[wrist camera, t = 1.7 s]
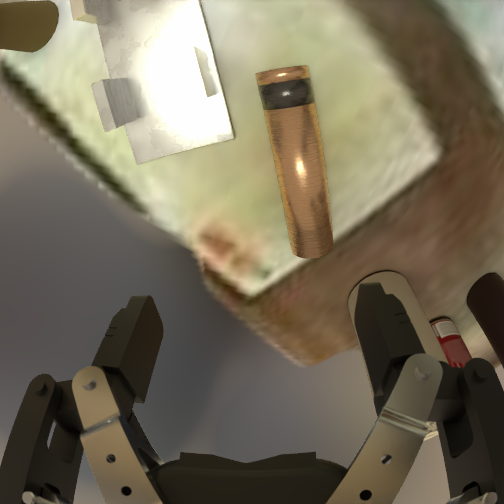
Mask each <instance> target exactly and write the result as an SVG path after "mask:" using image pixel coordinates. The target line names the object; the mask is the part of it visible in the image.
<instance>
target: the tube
mask: <svg viewBox="0 0 504 504" xmlns="http://www.w3.org/2000/svg"><path fill="white" fill-rule="evenodd" d="M256 79H257V83H258V87H259V91H260V96H261V100H262V105H263V109H264V113H265V118H266V123H267V127H268V132H269V136H270V141H271V146H272V151H273V155H274V160H275V165H276V170H277V175H278V180H279V185H280V190H281V195H282V201H283V206H284V211H285V217H286V222H287V227H288V233H289V239H290V244H291V250H292V252H293V254H295V255H296V256H298V257H301V258H307V259H312V258H318V257H321V256H324V255H326V254H328V253H329V252H330V251H331V250H332V248H333V245H334V244H333V233H332V222H331V212H330V203H329V194H328V186H327V178H326V170H325V163H324V156H323V149H322V143H321V136H320V130H319V124H318V118H317V112H316V107H315V101H314V96H313V91H312V86H311V81H310V76H309V71H308V66H307V65H304V66H295V67H287V68H281V69H275V70H270V71H265V72H260V73H256Z"/></svg>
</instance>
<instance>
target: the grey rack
mask: <svg viewBox="0 0 504 504" xmlns="http://www.w3.org/2000/svg"><path fill="white" fill-rule="evenodd" d="M70 5H71V11H72V16H73V20H78V21H84V22H89V23H94V24H97V25H98V30H99V34H100V39H101V43H102V47H103V51H104V55H105V59H106V63H107V67H108V71H109V75H110V78H111V79H104V80H100V81H98V82H96V83H94V84H92V85H91V87H92V90H93V94H94V97H95V101H96V104H97V108H98V111H99V114H100V118H101V121H102V124H103V127H104V130H105V132H108V131H110V130H113V129H115V128H118V127H120V126H122V125H124V126H125V129H126V133H127V136H128V139H129V142H130V145H131V148H132V151H133V154H134V157H135V160H136V163H137V165H138V164H141V163H144V162H147V161H151V160H154V159H157V158H161V157H164V156H168V155H171V154H175V153H178V152H182V151H185V150H189V149H193V148H197V147H201V146H205V145H209V144H213V143H217V142H221V141H225V140H230V139H234V137H235V136H234V132H233V128H232V124H231V120H230V116H229V112H228V108H227V104H226V100H225V96H224V92H223V88H222V84H221V80H220V77H219V73H218V69H217V65H216V61H215V57H214V53H213V49H212V45H211V42H210V38H209V34H208V30H207V26H206V22H205V19H204V15H203V11H202V7H201V3H200V0H70Z"/></svg>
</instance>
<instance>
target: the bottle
mask: <svg viewBox="0 0 504 504" xmlns="http://www.w3.org/2000/svg"><path fill="white" fill-rule="evenodd" d="M467 304H468V307H469V309H470V310H471V312H472V313H473V315H474V317H475V318H476V320H477V321H478V323H479V325H480V326H481V328H482V330H483V331H484V333H485V335H486V337H487V338H488V340H489V342H490V344H491V345H492V347H493V349H494V351H495V353H496V355H497V356H498V358H499V360H500V362H501V364H502V366H503V368H504V281H503V279H502V278H501V277H500V276H499V275H497V274H496V273H491V274H488V275H485V276H484V277H482V278H481V279H480V280H479V281H478V282H477V283H475V285H474V286H473V287H472V289H471V291H470V293H469V295H468V299H467Z"/></svg>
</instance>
